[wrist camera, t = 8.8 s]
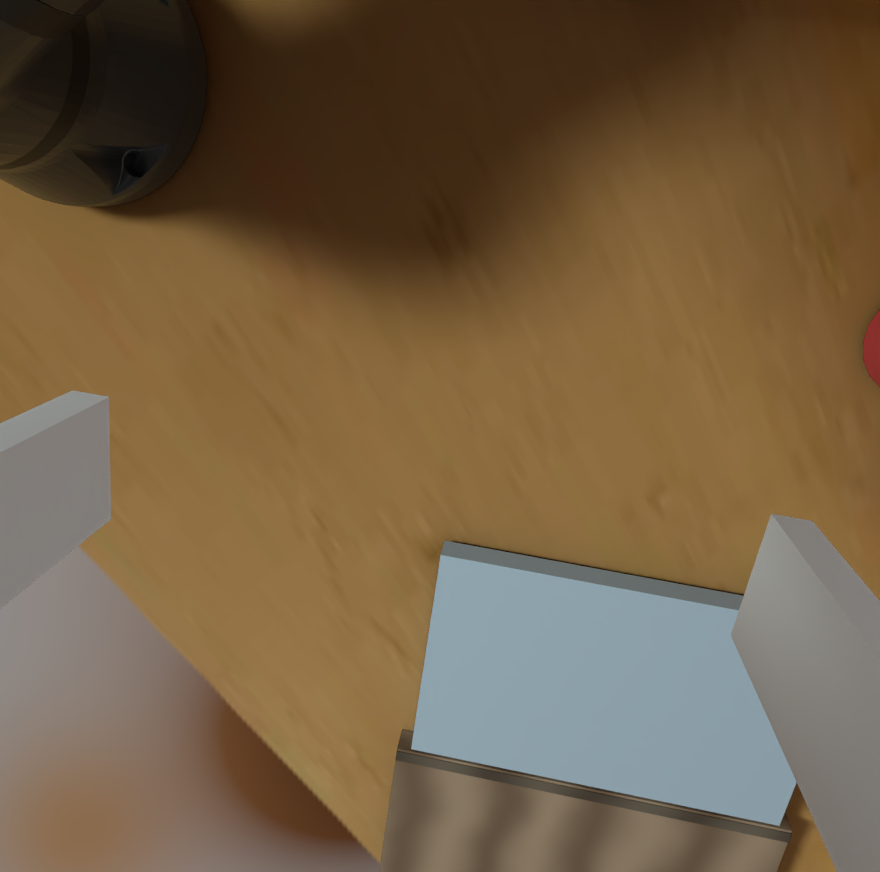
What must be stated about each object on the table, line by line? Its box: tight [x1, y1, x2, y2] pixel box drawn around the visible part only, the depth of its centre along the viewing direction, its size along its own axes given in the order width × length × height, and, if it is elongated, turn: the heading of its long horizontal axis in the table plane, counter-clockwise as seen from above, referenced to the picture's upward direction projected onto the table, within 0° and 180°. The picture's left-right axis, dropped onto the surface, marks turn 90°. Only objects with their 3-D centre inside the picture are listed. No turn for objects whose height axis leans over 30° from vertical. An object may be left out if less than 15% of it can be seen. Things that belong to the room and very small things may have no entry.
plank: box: [411, 541, 797, 826], centre depth 49 cm, size 26×16×2 cm, turn 82°
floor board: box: [379, 730, 792, 872], centre depth 54 cm, size 28×12×2 cm, turn 82°
